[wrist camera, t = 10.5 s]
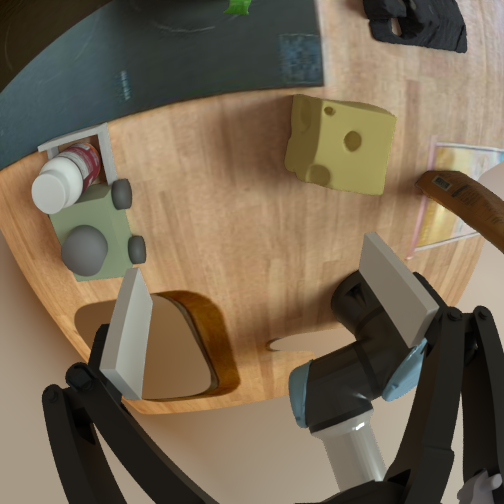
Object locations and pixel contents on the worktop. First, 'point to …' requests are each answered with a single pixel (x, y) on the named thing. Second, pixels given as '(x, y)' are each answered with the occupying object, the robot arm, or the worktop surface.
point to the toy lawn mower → (97, 219)
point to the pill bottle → (66, 177)
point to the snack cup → (238, 7)
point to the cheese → (340, 144)
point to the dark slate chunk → (419, 23)
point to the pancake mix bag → (467, 202)
